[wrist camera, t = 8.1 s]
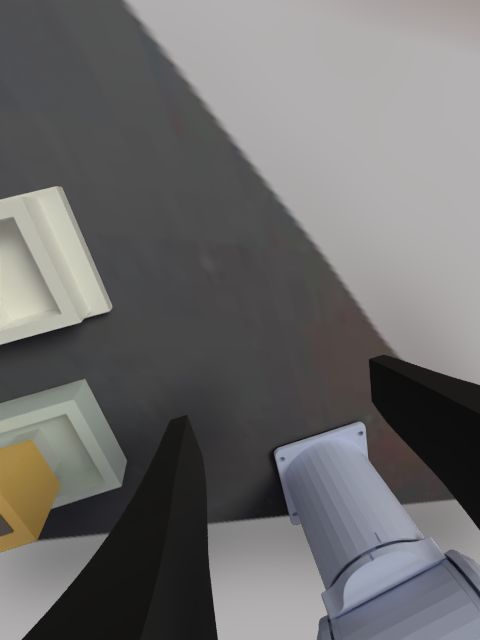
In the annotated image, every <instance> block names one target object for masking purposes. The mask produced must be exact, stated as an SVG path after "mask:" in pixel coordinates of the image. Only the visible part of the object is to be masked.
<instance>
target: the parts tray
mask: <svg viewBox="0 0 480 640" xmlns="http://www.w3.org/2000/svg"><path fill="white" fill-rule="evenodd" d="M39 428H40V429H41V430H42V432H43V434H44V435H45V437H46V438H47V440H48V442H49V443H50V445H51V446H52V448H53V450H54V451H55V453H56V455H57V456H58V458H59V459H60V462H59V464H58V466H57V468H56V470H55V472H54V475H55V476H56V478H57V479H58V481H59V482H60V484H61V486H60V489H59V491H58V493H57V495H56V498H55V500H54V502H53V505H52V507H51V509H53V508H56V507H59V506H62V505H65V504H68V503H71V502H75V501H78V500H81V499H84V498H87V497H90V496H93V495H96V494H100V493H103V492H106V491H109V490H112V489H115V488H118V487H121V486H122V482H123V477H124V473H125V468H126V463H127V460H126V458H125V456H124V454H123V452H122V450H121V448H120V446H119V444H118V442H117V440H116V438H115V436H114V434H113V432H112V430H111V428H110V426H109V425H108V423H107V421H106V419H105V417H104V415H103V413H102V411H101V409H100V407H99V405H98V403H97V401H96V399H95V397H94V395H93V393H92V391H91V390H90V388H89V386H88V384H87V382H86V380H85V379H83V380H79V381H76V382H72V383H69V384H65V385H62V386H59V387H55V388H52V389H48V390H45V391H41V392H38V393H34V394H31V395H27V396H24V397H21V398H17V399H14V400H10V401H7V402H3V403H0V449H1V448H5V447H8V446H10V444H11V443H12V441H13V440H14V439H15V437H16V436H17V435H18V434H22V433H25V432H28V431H32V430H35V429H39Z"/></svg>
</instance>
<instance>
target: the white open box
mask: <svg viewBox="0 0 480 640" xmlns="http://www.w3.org/2000/svg"><path fill="white" fill-rule="evenodd" d="M112 307H113V306H112V304H111V302H110V299H109V297H108V295H107V292H106V290H105V288H104V285H103V283H102V281H101V278H100V276H99V273H98V271H97V269H96V266H95V264H94V262H93V259H92V257H91V255H90V252H89V250H88V247H87V245H86V243H85V240H84V238H83V236H82V233H81V231H80V229H79V226H78V224H77V222H76V219H75V217H74V214H73V212H72V210H71V207H70V205H69V203H68V200H67V198H66V196H65V193H64V191H63V189H62V187H57V186H56V187H52V188H47V189H43V190H39V191H35V192H31V193H26V194H22V195H18V196H14V197H10V198H6V199H1V200H0V345H1V344H4V343H8V342H12V341H15V340H19V339H23V338H26V337H30V336H34V335H37V334H41V333H44V332H48V331H52V330H55V329H59V328H63V327H66V326H70V325H74V324H77V323H81V322H82V321H83V319H84V318H87V317H91V316H94V315H98V314H102V313H105V312H109V311H110V310H111V309H112Z"/></svg>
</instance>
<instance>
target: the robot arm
mask: <svg viewBox="0 0 480 640" xmlns="http://www.w3.org/2000/svg"><path fill="white" fill-rule="evenodd" d="M369 367H370V381H371V395H372V402H373V404H374V405H375V407H376V408H377V409H378V411H379V412H380V414H381V415H382V416H383V418H384V419H385V420H386V422H387V423H388V424H389V425H390V426H391V427H392V429H393V430H394V431H395V432H396V433H397V434H398V435H399V436H400V437H401V438H402V439H403V440H404V441H405V442H406V444H407V445H408V446H409V447H410V448H411V449H412V450H413V451H414V452H415V453H416V454H417V455H418V456H419V457H420V458H421V459H422V460H423V461H424V463H425V464H426V465H427V466H428V467H429V468H430V469H431V470H432V471H433V472H434V473H435V474H436V475H437V477H438V478H439V479H440V480H441V481H442V482H443V483H444V485H445V486H446V487H447V488H448V490H449V491H450V492H451V493H452V495H453V496H454V497H455V498H456V500H457V501H458V502H459V504H460V505H461V506H462V507H463V509H464V510H465V511H466V512H467V514H468V515H469V516H470V518H471V519H472V520H473V522H474V523H475V524H476V526H477V527H478V528H479V530H480V385H477V384H474V383H471V382H467V381H463V380H460V379H457V378H453V377H450V376H447V375H444V374H441V373H438V372H434V371H432V370H429V369H426V368H422V367H420V366H417V365H414V364H411V363H408V362H405V361H402V360H399V359H396V358H393V357H390V356H386V355H381V356H378V357H374V358H371V359H369ZM274 456H275V460H276V464H277V468H278V472H279V476H280V480H281V484H282V488H283V492H284V496H285V500H286V504H287V508H288V512H289V516H290V520H291V523H292V524H294V525H298V524H300V523H301V524H302V527H303V530H304V532H305V535H306V538H307V540H308V543H309V546H310V548H311V551H312V554H313V556H314V559H315V562H316V565H317V567H318V570H319V573H320V575H321V578H322V581H323V583H324V586H325V589H326V591H325V592H323V593H322V594H321V596H322V599H323V602H324V604H325V607H326V610H327V613H328V615H327V616H325V617H323V618H321V619H320V621H319V631H318V636H317V640H480V565H479V564H478V563H476V562H475V561H474V560H473V559H471V558H469V557H467V556H465V555H463V554H460V553H459V552H457V551H455V550H449V551H448V552H446V553H444V554H443V552H442V551H441V550H440V548H439V547H438V546H437V545H436V543H435V542H434V540H433V539H432V538H431V537H427V538H424V536H423V535H422V533H421V532H420V530H419V529H418V528H417V526H416V525H415V524H414V522H413V521H412V519H411V518H410V517H409V515H408V514H407V513H406V511H405V510H404V509H403V507H402V506H401V504H400V503H399V502H398V500H397V499H396V497H395V496H394V495H393V493H392V492H391V491H390V489H389V488H388V486H387V485H386V484H385V482H384V481H383V480H382V478H381V477H380V475H379V474H378V473H377V471H376V470H375V469H374V467H373V466H372V464H371V463H370V462H369V460H368V452H367V441H366V429H365V425H364V424H363V423H362V422H356V423H353V424H350V425H347V426H344V427H341V428H338V429H334V430H331V431H328V432H325V433H322V434H319V435H316V436H313V437H310V438H307V439H303V440H300V441H297V442H294V443H291V444H288V445H285V446H282V447H279V448H277V449H276V450H275V451H274ZM281 457H282V458H281ZM22 640H218V638H217V630H216V622H215V613H214V606H213V596H212V589H211V579H210V570H209V557H208V529H207V493H206V478H205V470H204V463H203V457H202V453H201V451H200V448H199V445H198V443H197V440H196V437H195V435H194V432H193V429H192V427H191V424H190V422H189V419H188V416H187V415H185V416H182V417H179V418H176V419H172V420H171V421H170V422H169V424H168V427H167V429H166V431H165V434H164V436H163V438H162V441H161V443H160V445H159V447H158V450H157V452H156V454H155V456H154V458H153V460H152V462H151V464H150V466H149V468H148V470H147V472H146V474H145V476H144V478H143V480H142V482H141V484H140V485H139V487H138V489H137V491H136V493H135V495H134V496H133V498H132V500H131V501H130V503H129V505H128V506H127V508H126V510H125V511H124V513H123V514H122V516H121V517H120V519H119V521H118V522H117V524H116V525H115V527H114V528H113V530H112V531H111V532H110V534H109V535H108V537H107V538H106V539H105V541H104V542H103V543H102V545H101V546H100V548H99V549H98V550H97V552H96V553H95V554H94V556H93V557H92V559H91V560H90V561H89V563H88V564H87V565H86V566H85V568H84V569H83V570H82V571H81V573H80V574H79V575H78V576H77V578H76V579H75V580H74V581H73V583H72V584H71V585H70V586H69V587H68V588H67V590H66V591H65V592H64V593H63V594H62V595H61V597H60V598H59V599H58V600H57V601H56V602H55V604H54V605H53V606H52V607H51V608H50V609H49V610H48V612H47V613H46V614H45V615H44V616H43V617H42V618H41V619H40V620H39V621H38V623H37V624H36V625H35V626H34V627H33V628H32V629H31V630H30V631H29V632H28V633H27V634H26V636H25V637H24V638H23V639H22Z"/></svg>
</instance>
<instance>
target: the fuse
mask: <svg viewBox="0 0 480 640" xmlns="http://www.w3.org/2000/svg"><path fill="white" fill-rule="evenodd" d="M59 462H60V459H59V458H58V456H57V455H56V453H55V451H54V450H53V448H52V446H51V445H50V443H49V442H48V440H47V438H46V437H45V435H44V434H43V432H42V430H41V429H40V428H39V429H35V430H32V431H28V432H25V433H22V434H18V435H17V436H16V437H15V439H14V440H13V441H12V443H11V444H10V446H8V447H5V448H1V449H0V552H3V551H6V550H9V549H13V548H16V547H19V546H22V545H25V544H28V543H31V542H35V541H37V540H38V537H39V535H40V533H41V530H42V528H43V526H44V523H45V521H46V519H47V516H48V514H49V512H50V509H51V507H52V505H53V502H54V500H55V498H56V495H57V493H58V491H59V489H60V486H61V484H60V482H59V481H58V479H57V478H56V476H55V475H54V472H55V470H56V468H57V466H58V464H59Z"/></svg>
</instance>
